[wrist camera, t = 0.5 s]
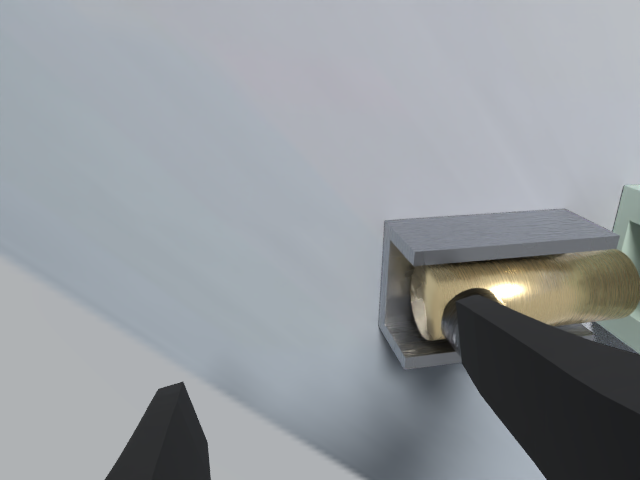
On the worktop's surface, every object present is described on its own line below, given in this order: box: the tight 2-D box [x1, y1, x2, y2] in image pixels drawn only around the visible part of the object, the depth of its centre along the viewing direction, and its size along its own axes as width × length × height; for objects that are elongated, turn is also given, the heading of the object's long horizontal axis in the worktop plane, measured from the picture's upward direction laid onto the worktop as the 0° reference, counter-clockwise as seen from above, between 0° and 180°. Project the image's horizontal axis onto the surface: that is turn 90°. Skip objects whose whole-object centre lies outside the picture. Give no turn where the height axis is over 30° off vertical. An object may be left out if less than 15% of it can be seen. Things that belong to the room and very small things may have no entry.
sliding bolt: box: [411, 249, 640, 357], centre depth 20 cm, size 9×3×6 cm, turn 90°
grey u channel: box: [378, 209, 620, 370], centre depth 22 cm, size 9×5×4 cm, turn 90°
